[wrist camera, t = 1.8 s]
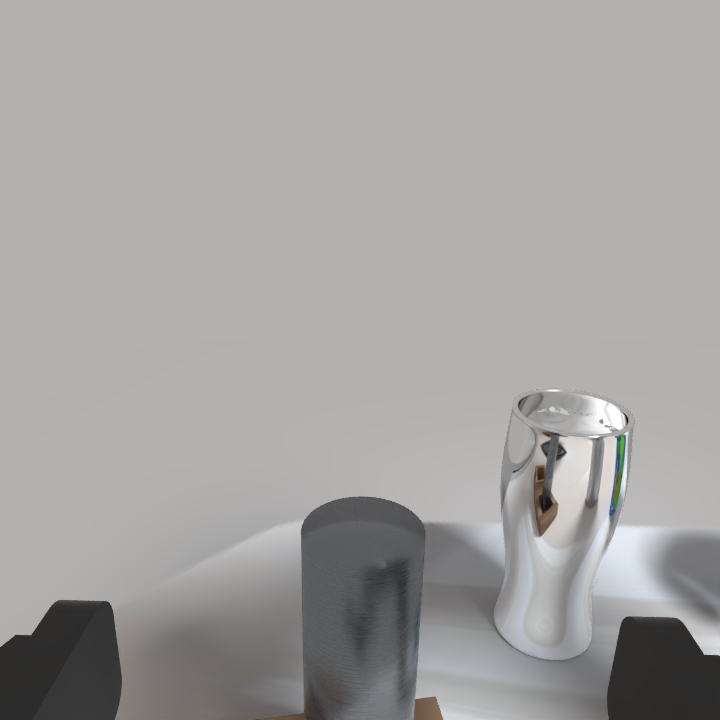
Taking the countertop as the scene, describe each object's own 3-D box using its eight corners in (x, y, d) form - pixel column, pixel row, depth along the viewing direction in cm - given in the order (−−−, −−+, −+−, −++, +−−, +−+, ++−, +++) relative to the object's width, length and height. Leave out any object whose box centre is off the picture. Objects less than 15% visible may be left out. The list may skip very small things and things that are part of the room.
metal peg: (394, 782, 30) (408, 492, 25) (417, 885, 26) (440, 563, 20) (302, 796, 29) (297, 501, 24) (310, 904, 25) (306, 576, 20)
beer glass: (615, 620, 40) (656, 408, 35) (572, 688, 35) (612, 451, 30) (516, 573, 45) (540, 377, 40) (465, 627, 40) (485, 411, 34)
